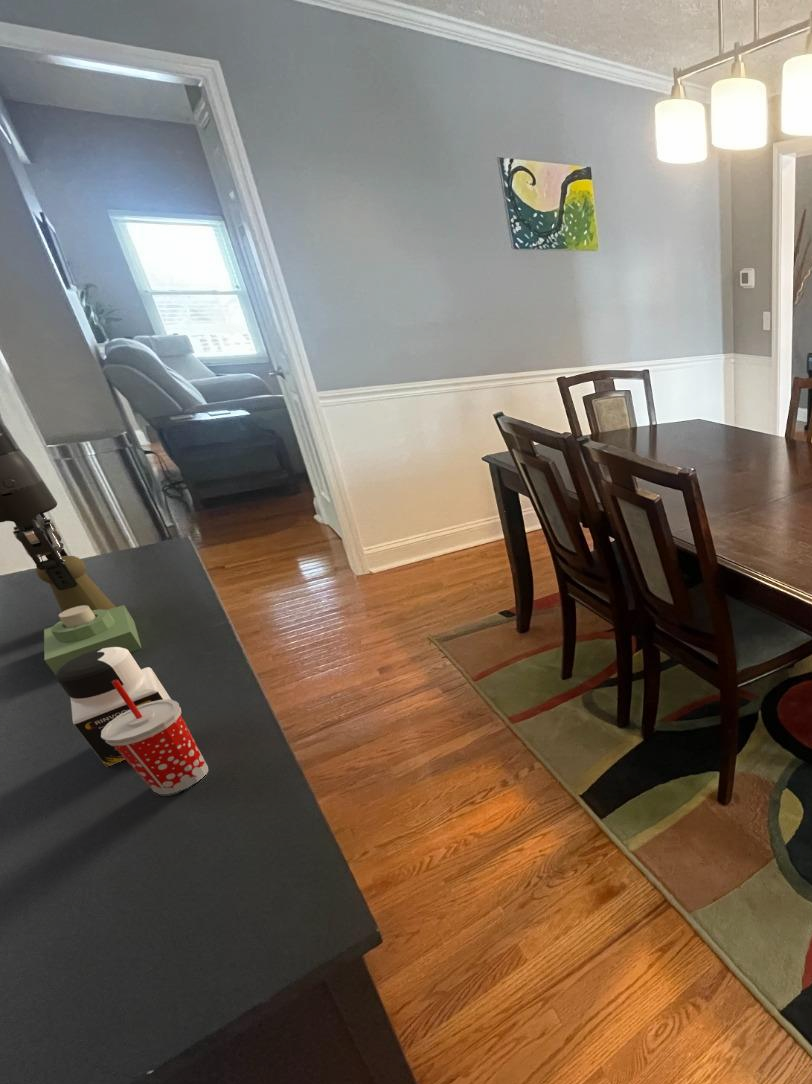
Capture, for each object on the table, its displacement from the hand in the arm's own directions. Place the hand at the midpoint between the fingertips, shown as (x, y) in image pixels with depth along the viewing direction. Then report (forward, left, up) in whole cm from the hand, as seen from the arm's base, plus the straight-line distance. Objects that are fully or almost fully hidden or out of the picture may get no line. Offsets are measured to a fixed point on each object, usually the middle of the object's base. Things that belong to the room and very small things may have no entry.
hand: (67, 579), depth 95 cm
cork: (0, 0, -8) cm, 8 cm away
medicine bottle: (+24, -38, -8) cm, 46 cm away
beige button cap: (+6, -11, -3) cm, 13 cm away
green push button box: (+6, -11, -7) cm, 15 cm away
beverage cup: (+32, -48, -8) cm, 59 cm away
